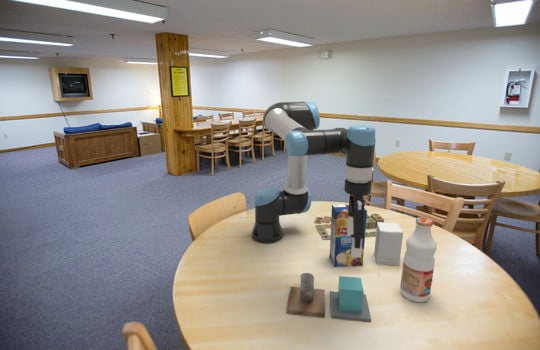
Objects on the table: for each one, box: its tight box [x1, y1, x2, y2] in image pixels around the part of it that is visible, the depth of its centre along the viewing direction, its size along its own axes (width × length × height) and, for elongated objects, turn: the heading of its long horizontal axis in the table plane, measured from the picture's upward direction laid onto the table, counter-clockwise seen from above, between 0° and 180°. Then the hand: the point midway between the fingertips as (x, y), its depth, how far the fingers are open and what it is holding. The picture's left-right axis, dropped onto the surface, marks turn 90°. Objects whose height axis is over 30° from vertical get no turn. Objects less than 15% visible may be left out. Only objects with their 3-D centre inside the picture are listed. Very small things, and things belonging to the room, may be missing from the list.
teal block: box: [337, 275, 365, 313], centre depth 99 cm, size 7×7×8 cm
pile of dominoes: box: [313, 213, 385, 241], centre depth 160 cm, size 35×27×6 cm
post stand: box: [286, 272, 326, 318], centre depth 101 cm, size 12×12×10 cm
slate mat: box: [329, 290, 372, 323], centre depth 101 cm, size 12×12×1 cm
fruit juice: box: [399, 217, 437, 303], centre depth 103 cm, size 9×9×28 cm
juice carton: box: [329, 203, 368, 268], centre depth 124 cm, size 12×8×24 cm, turn 94°
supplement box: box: [374, 222, 404, 267], centre depth 126 cm, size 9×9×15 cm
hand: (353, 245), depth 95 cm, fingers open, 13 cm apart
